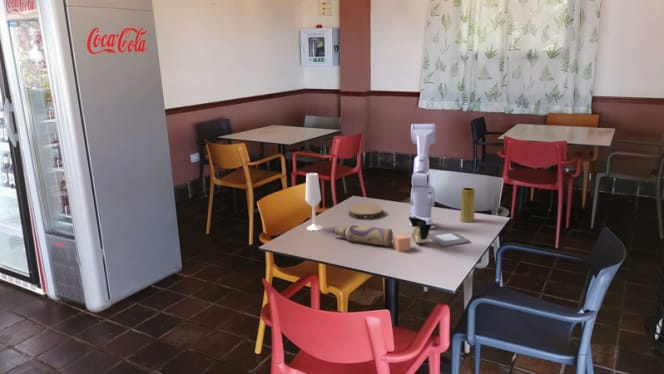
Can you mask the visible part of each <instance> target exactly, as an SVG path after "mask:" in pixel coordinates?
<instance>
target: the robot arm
mask: <svg viewBox="0 0 664 374" xmlns="http://www.w3.org/2000/svg"><path fill="white" fill-rule="evenodd" d="M436 131H437V130H436V124H435V123H412V124H411V126H410V138H411V143H412V144H413V145H416V147H417V149H416V150H417V151H416V153H417V156H415V157H414V160H413V173H412V174H411V185H412V186H411V187H412V188H411V190H410V191H411V192H410V205H411V209H409V214H410V216H409V217H408V220H409V222H408V225H409V226H410V227H411V228H412V227H415V226H419V229H420V236H421V239H422V240H423V239H427V236H428V232H429V233H430V230H432V229H435V228H436V227H435V226H434V225H433V223H434V222H433V219H432V208H433V207H434V206H435V204H436V203H435V198H436V196H435V188H434V186H432V185H431V184H430V182H431V181H430V179H431V177H430V176H431V175H430V159H429V150H430V146H431V145H432V144H433V145H434V144H435V141H436Z"/></svg>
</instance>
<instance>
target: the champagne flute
mask: <svg viewBox="0 0 664 374" xmlns="http://www.w3.org/2000/svg"><path fill="white" fill-rule="evenodd" d="M304 197H305V202H306V203H307V204H308V205H309V206H310V207H311V209H312V210H311V212H312V213H311V214H312V224H311V225H309V226H307V227H306V230H308V231H312V230H315V231H320V230H322V229H323V226H321V225H319V224H317V223H316V207H317V206H318V204H319V203H320V202H321V200H322V197H321V188H320V182H319V174H318V173H316V172H309V173H306V177H305V196H304Z"/></svg>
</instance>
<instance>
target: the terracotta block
mask: <svg viewBox="0 0 664 374" xmlns="http://www.w3.org/2000/svg"><path fill="white" fill-rule="evenodd" d="M411 240H412V236H411V237H410V236H409V235H407V233H399V234H393V240H392V248H393V249H394V250H396V252H399V253H400V252H405V251H411V250H412V249H411V245H412V244H411V243H412V242H411Z"/></svg>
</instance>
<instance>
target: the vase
mask: <svg viewBox="0 0 664 374" xmlns="http://www.w3.org/2000/svg"><path fill="white" fill-rule="evenodd" d="M475 191H476V190H475V188H474V187H463V188H462V189H461V203H460V218H459V219H460V222H463V223H474V222H475V221H476V220H475Z"/></svg>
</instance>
